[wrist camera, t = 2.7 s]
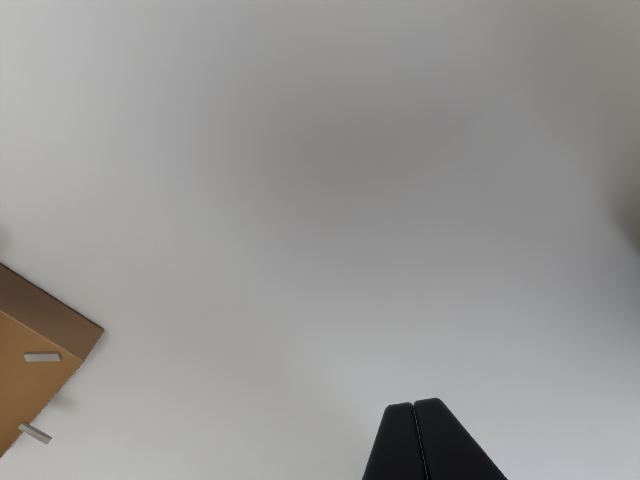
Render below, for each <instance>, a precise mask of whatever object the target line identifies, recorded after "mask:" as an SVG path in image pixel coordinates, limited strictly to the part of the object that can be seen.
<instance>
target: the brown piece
mask: <svg viewBox="0 0 640 480" xmlns="http://www.w3.org/2000/svg"><path fill="white" fill-rule="evenodd" d="M102 333H103V329H101V328H100V327H98V326H96V325H95V324H93V323H92V322H90V321H89V320H87V319H85V318H84V317H82V316H81V315H79V314H78V313H76V312H74V311H73V310H71V309H70V308H68V307H67V306H65V305H64V304H62V303H60V302H59V301H57V300H56V299H54V298H53V297H51V296H49V295H48V294H46V293H45V292H43V291H42V290H40V289H39V288H37V287H35V286H34V285H32V284H31V283H29V282H28V281H26V280H24V279H23V278H21V277H20V276H18V275H17V274H15V273H14V272H12V271H10V270H9V269H7V268H6V267H4V266H3V265H1V264H0V458H1V457H2V456H3V455H4V454H5V452H6V451H7V450H8V449H9V448H10V447H11V445H12V444H13V443H14V442H15V441H16V440H17V438H18V437H19V436H20V435H21V434H22V433H23V432H25V433H27V434H29V435H31V436H32V437H34V438H36V439H38V440H40V441H41V442H43V443H45V444H48V443H49V442H50V441H51V439H52V437H50V436H48V435H46V434H45V433H43V432H41V431H39V430H38V429H36V428H34V427H32V426H30V425H29V424H30V423H31V422H32V421H33V420H34V419H35V418H36V416H37V415H38V414H39V413H40V412H41V411H42V409H43V408H44V407H45V406H46V405H47V404H48V402H49V401H50V400H51V399H52V398H53V397H54V395H55V394H56V393H57V392H58V391H59V390H60V388H61V387H62V386H63V385H64V384H65V383H66V381H67V380H68V379H69V378H70V377H71V376H72V374H73V373H74V372H75V371H76V370H77V369H78V368H79V366H80V365H81V364H82V363H83V362H84V360H85V359H86V357H87V356H88V354H89V353H90V351H91V350H92V348H93V346H94V345H95V343H96V342H97V340H98V339H99V337H100V336H101V334H102Z"/></svg>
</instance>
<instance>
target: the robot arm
mask: <svg viewBox="0 0 640 480" xmlns="http://www.w3.org/2000/svg"><path fill="white" fill-rule="evenodd" d="M414 411H415V413H414ZM415 416H416V418H415ZM416 421H417V423H416ZM417 426H418V428H417ZM418 431H419V433H418ZM419 436H420V438H419ZM420 442H421V443H420ZM421 447H422V448H421ZM422 452H423V453H422ZM423 457H424V459H423ZM424 462H425V464H424ZM425 467H426V469H425ZM426 472H427V474H426ZM427 477H428V479H427ZM362 480H508V479H507V478H506V477H505V476H504V475H503V473H502V472H501V471H500V470H499V469H498V468H497V466H496V465H495V464H494V463H493V462H492V460H491V459H490V458H489V457H488V456H487V454H486V453H485V452H484V451H483V450H482V448H481V447H480V446H479V445H478V444H477V442H476V441H475V440H474V439H473V438H472V436H471V435H470V434H469V433H468V432H467V430H466V429H465V428H464V427H463V426H462V424H461V423H460V422H459V421H458V420H457V418H456V417H455V416H454V415H453V414H452V412H451V411H450V410H449V409H448V408H447V406H446V405H445V404H444V403H443V402H442V401H441V400H440V399H439V398H430V399H424V400H418V401H416V402H414V408H413V405H412V404H411V403H409V402H406V403H400V404H394V405H389V406H387V407H386V409H385V411H384V414H383V417H382V420H381V423H380V426H379V429H378V433H377V436H376V439H375V442H374V445H373V448H372V451H371V454H370V457H369V460H368V463H367V466H366V469H365V472H364V475H363V479H362Z"/></svg>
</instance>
